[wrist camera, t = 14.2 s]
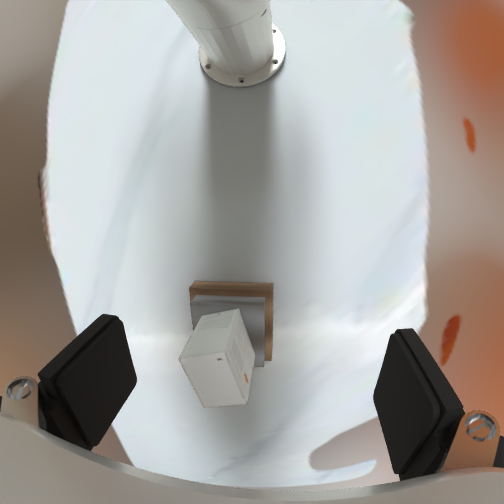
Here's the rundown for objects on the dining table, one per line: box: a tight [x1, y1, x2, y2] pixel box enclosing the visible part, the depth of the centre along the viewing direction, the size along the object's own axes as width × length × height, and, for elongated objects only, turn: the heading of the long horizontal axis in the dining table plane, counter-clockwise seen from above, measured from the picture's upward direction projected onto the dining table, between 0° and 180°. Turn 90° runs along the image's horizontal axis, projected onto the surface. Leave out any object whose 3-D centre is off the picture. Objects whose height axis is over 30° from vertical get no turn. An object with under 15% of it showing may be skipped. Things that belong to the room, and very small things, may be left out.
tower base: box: [189, 281, 273, 367], centre depth 42 cm, size 12×12×6 cm
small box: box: [179, 308, 255, 408], centre depth 34 cm, size 8×6×10 cm
